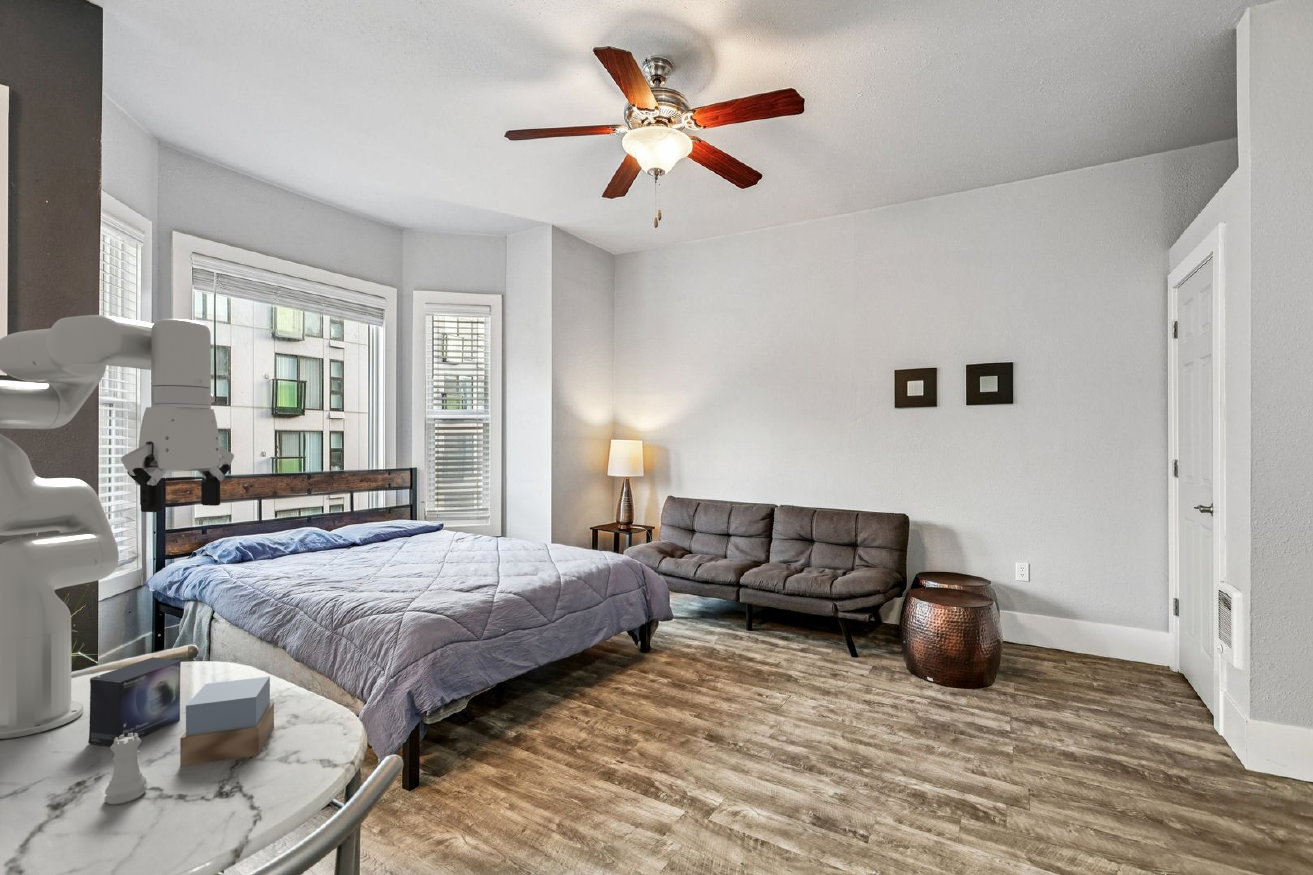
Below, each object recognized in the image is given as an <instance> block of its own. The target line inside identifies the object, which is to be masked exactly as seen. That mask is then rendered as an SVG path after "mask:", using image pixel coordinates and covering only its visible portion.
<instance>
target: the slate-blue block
mask: <svg viewBox="0 0 1313 875" xmlns="http://www.w3.org/2000/svg"><path fill="white" fill-rule="evenodd" d="M270 703H271V677H270V676H261V677H255V678H254V677H253V678H246V679H245V678H243V679H238V680H236V679H235V680H228V681H220V682H219V681H218V682H211V683H205V684H204V685H203V686H202V687H201V688H200V689H199V691H198V692H197V693H196V694H195V695H194V696H193V697H192V698H191V699H190V700H189V702H188V703H187V704H186V705H185V732H186V736H190V735H198V734H205V733H212V732H219V731H227V730H234V729H241V728H248V727H256V726H257V724H258V723H259V721H260V719H261V718H262V716H263V714H264V713H265V711H266V709H267V708H268V706H269V704H270Z"/></svg>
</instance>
